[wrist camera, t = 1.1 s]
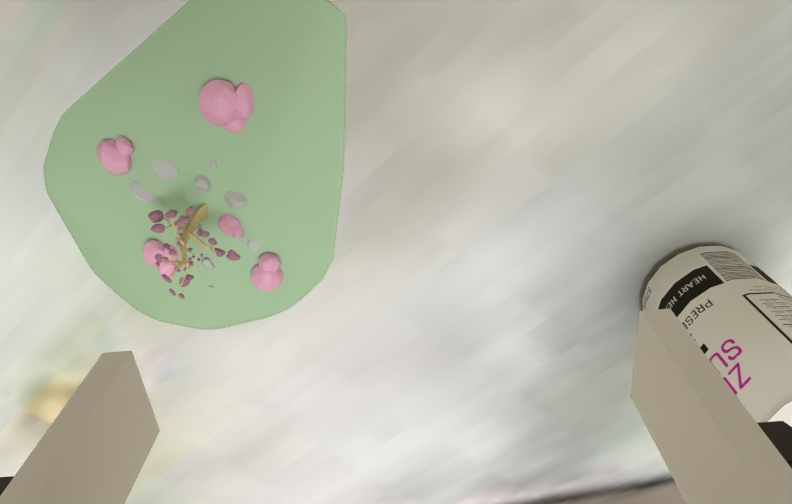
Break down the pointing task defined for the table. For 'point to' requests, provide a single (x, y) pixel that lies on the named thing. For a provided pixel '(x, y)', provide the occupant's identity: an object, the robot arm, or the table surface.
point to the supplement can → (733, 323)
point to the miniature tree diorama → (211, 162)
